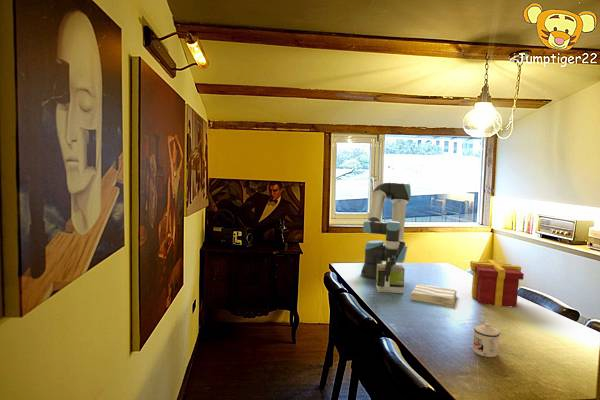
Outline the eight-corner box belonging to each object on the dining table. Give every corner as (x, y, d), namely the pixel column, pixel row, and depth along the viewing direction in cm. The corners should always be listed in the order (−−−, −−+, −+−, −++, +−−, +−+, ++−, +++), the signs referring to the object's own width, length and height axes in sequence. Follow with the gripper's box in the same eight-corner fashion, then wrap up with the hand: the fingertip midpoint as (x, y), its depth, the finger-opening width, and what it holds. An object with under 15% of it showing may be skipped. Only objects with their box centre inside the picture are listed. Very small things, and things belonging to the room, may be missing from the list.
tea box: (400, 289, 239) (402, 264, 238) (403, 294, 229) (405, 268, 228) (375, 287, 241) (376, 262, 239) (376, 292, 231) (378, 266, 230)
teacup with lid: (468, 347, 162) (470, 319, 161) (489, 347, 163) (491, 319, 162) (484, 361, 150) (487, 331, 149) (507, 361, 151) (510, 331, 150)
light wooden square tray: (416, 290, 238) (416, 283, 238) (456, 296, 229) (456, 289, 229) (410, 299, 220) (411, 292, 220) (453, 306, 211) (454, 299, 211)
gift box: (464, 291, 240) (467, 257, 239) (510, 295, 235) (513, 261, 234) (474, 304, 216) (477, 267, 214) (524, 310, 211) (528, 272, 209)
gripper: (393, 252, 220) (391, 290, 222) (402, 245, 243) (400, 280, 244) (380, 250, 223) (377, 288, 225) (390, 244, 246) (387, 278, 247)
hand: (389, 283), depth 235 cm, fingers open, 13 cm apart
